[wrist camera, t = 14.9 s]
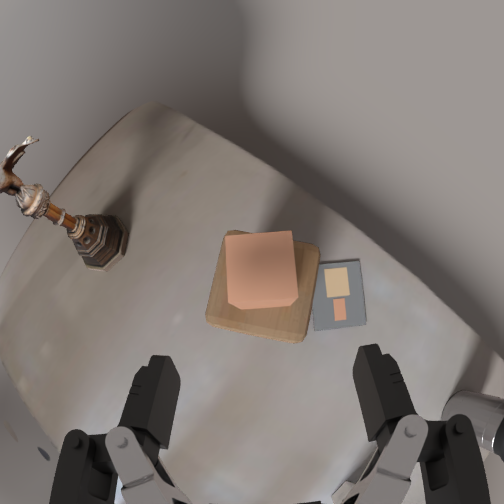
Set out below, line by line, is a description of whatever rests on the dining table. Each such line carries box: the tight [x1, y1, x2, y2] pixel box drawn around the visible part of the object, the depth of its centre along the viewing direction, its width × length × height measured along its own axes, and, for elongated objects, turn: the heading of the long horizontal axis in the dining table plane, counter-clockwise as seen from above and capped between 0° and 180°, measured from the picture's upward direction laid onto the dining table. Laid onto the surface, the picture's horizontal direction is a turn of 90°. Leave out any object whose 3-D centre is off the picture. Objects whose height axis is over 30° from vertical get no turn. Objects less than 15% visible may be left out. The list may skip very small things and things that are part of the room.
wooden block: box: [205, 230, 320, 343], centre depth 35 cm, size 10×10×20 cm
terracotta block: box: [225, 230, 298, 310], centre depth 22 cm, size 4×4×8 cm
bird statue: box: [0, 136, 129, 272], centre depth 33 cm, size 17×13×35 cm
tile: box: [312, 261, 366, 331], centre depth 44 cm, size 9×11×1 cm
